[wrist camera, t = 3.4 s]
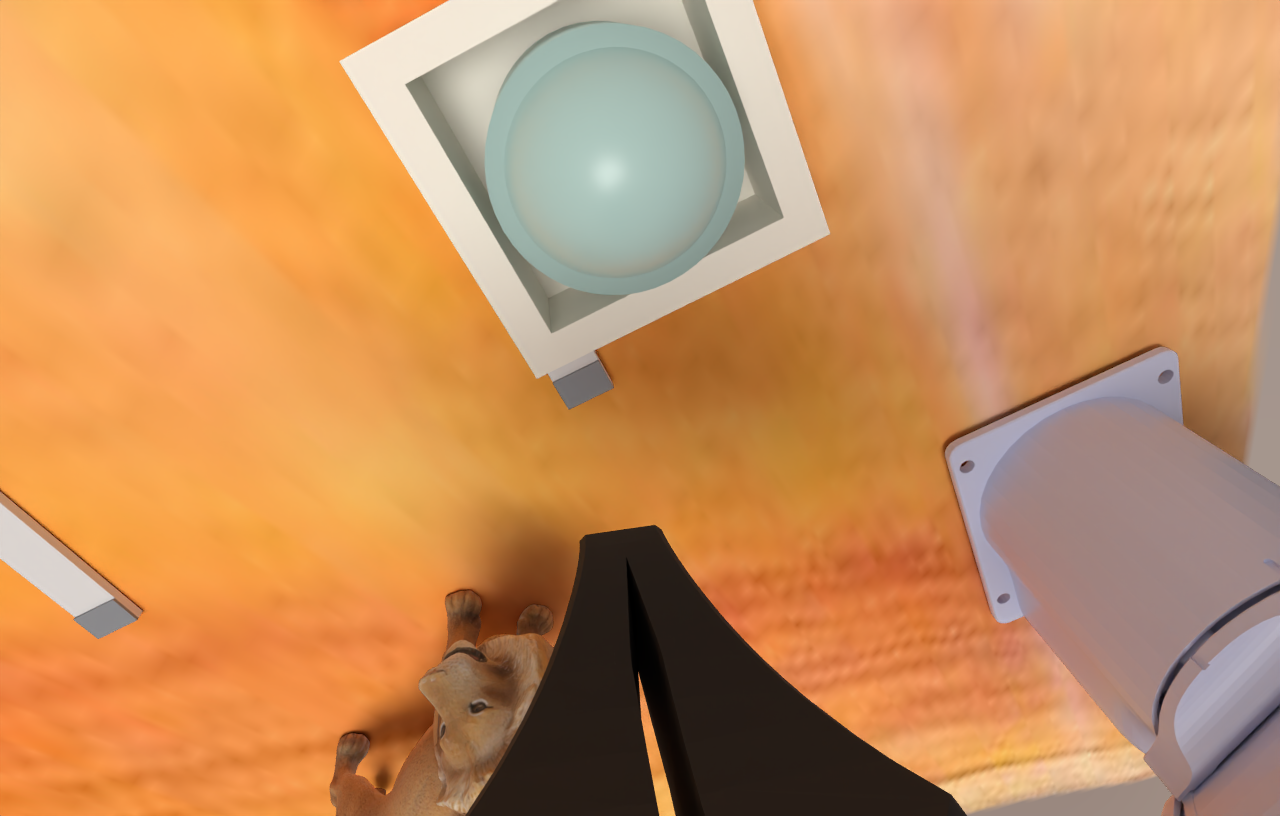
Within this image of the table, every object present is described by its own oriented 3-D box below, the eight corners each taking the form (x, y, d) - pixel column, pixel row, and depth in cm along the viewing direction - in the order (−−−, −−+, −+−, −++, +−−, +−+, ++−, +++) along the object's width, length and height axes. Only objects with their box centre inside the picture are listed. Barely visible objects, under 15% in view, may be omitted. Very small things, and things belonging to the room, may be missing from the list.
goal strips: (612, 381, 22) (613, 387, 22) (104, 629, 24) (98, 638, 23) (449, 90, 18) (447, 92, 17) (-160, 420, 19) (-172, 427, 19)
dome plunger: (737, 191, 19) (803, 247, 14) (556, 283, 19) (567, 363, 15) (654, -24, 16) (702, -36, 12) (447, 88, 17) (421, 116, 12)
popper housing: (790, 204, 20) (830, 234, 18) (535, 332, 21) (536, 378, 18) (675, -119, 16) (705, -142, 14) (367, 53, 17) (339, 61, 14)
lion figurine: (458, 490, 23) (426, 735, 15) (607, 539, 25) (645, 781, 17) (316, 776, 29) (238, 1066, 21) (447, 800, 30) (421, 1075, 23)
